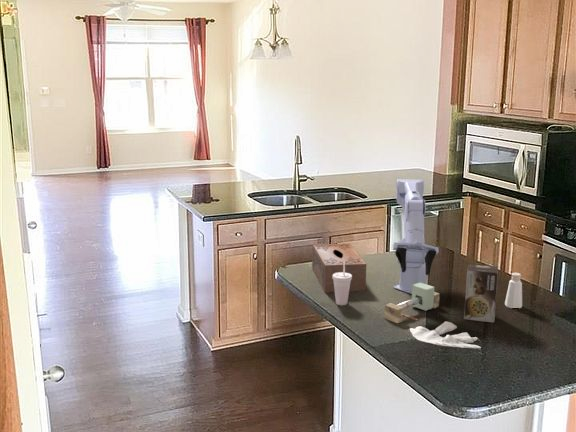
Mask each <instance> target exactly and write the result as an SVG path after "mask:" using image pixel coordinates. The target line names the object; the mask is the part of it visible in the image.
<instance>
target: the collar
mask: <svg viewBox="0 0 576 432" xmlns="http://www.w3.org/2000/svg"><path fill="white" fill-rule="evenodd" d="M435 290H436V289H435V286H432V285H429V284H427V283H426V284H424V283H417V284H414V285H412V294H411V299H413V298H416V297H419V296H421V297H422V302H421V303H418V304H416V305H413V306H412V307H414V308H417V309H420V310H422V311H425V312H427V311H428V310H432V309H434V308H433V304H434V292H435Z"/></svg>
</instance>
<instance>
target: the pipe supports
mask: <svg viewBox="0 0 576 432" xmlns="http://www.w3.org/2000/svg"><path fill="white" fill-rule="evenodd" d="M397 305H398V304H394V303H392V302H389V303H387V304H384V319H385V320H388V321H390V322H393V323H396V324H399V323H401V322H403V320H404V317H405V318H409V319H410V320H414V321H416V322H417V321H419V318H415V317H413V316H411V315H408V314H405V313H404V309H403V307H400V306H397ZM439 306H440V293H439V292H436V291H434V304H433V308H432V309H436V308H439ZM390 307H391V308H392V309H394V310H391V308H390ZM389 309H390V310H389ZM393 311H394V313H393ZM391 312H392V313H393V314H391Z"/></svg>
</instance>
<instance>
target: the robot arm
mask: <svg viewBox="0 0 576 432" xmlns="http://www.w3.org/2000/svg"><path fill="white" fill-rule="evenodd" d="M424 183H425V182H424V180H423V179H422V178H421V179H406V178H405V179H403V178H402V179H400V178H398V179H396V184H395V194H396V195H395V199H396V203H397V204H398V205H400V206H401V208H402V212H403V235H404V236H403V238H401V239H399V240H398V242H393V244H392V250H393V251H395V252H394V253H395V256H396V262H397V264H399V283H398V284H396V285H394V286H393V288H394V289H396V290H400V291H402V292H405V293H408V294H411V295H412V285H414V284H417V283H424V284H427V276H429V275H430V273H431V268H432V264H433V261H434V259H435V256H436V255H438V254H439V251H440V250H439V247H437V246H433V245H429V244H426V243H425V216H426V208H427V206H426V205H427V204H426V200H425V199H424V198H423V197H424V188H425V184H424Z"/></svg>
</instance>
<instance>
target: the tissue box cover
mask: <svg viewBox="0 0 576 432" xmlns="http://www.w3.org/2000/svg"><path fill="white" fill-rule="evenodd" d="M311 254H312V255H311V257H312V259H311V260H312V261H311V263H312V265H311V267H312V268H311V269H312V271H313V274H314V275H315V278H316V279H317V281H318V283H319V285H320V286H321V289H322V290H323V292H324V293H335V290H334V280H333V278H332V277H333V274H334V273H338V272H343V262H345V273H349V274H351V275H352V279H351V282H350V288H349V292H363V291H364V292H365V291H366V286H367V263H366V262H365V259H363V258H362V257H361V256H360V254H359V253H358V252H357V251H356V249H355V248H354V247H353V246H352V244H351V243H325V244H324V243H323V244H321V243H320V244H319V243H317V244H312V253H311Z"/></svg>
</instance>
